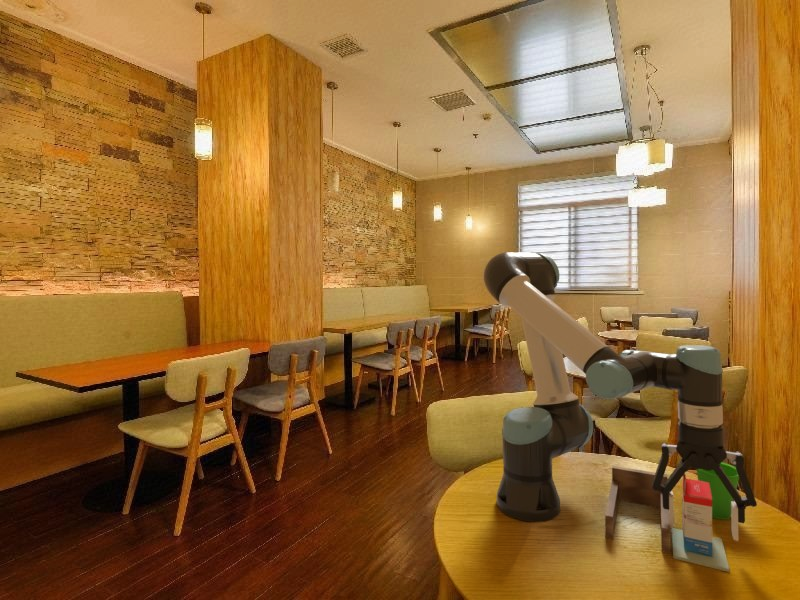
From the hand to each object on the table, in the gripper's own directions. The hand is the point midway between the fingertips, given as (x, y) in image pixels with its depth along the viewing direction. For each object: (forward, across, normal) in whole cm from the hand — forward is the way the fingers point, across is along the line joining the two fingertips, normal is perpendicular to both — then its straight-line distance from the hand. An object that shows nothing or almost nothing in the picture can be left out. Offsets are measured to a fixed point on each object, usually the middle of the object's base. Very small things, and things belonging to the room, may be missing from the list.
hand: (702, 530), depth 90 cm
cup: (+5, +4, +18) cm, 19 cm away
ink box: (+4, -1, +1) cm, 4 cm away
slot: (+4, -12, +6) cm, 14 cm away
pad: (+4, -1, 0) cm, 4 cm away
